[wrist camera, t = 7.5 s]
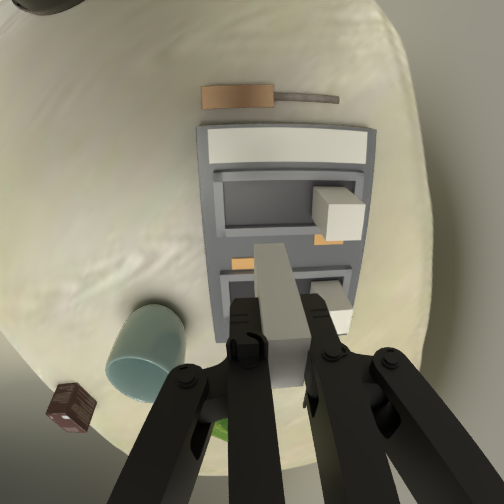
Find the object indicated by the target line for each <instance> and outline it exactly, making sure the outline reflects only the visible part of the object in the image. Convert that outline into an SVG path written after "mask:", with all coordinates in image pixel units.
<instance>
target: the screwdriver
mask: <svg viewBox="0 0 504 504" xmlns="http://www.w3.org/2000/svg"><path fill="white" fill-rule="evenodd" d="M274 100H285V101H308V102H324V103H336V104H339V97H338V96H328V95H315V94H298V93H274V85H226V86H207V87H202V109H216V108H242V107H274Z"/></svg>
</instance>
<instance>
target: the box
mask: <svg viewBox="0 0 504 504" xmlns="http://www.w3.org/2000/svg"><path fill="white" fill-rule="evenodd" d="M96 404H97V402H96V401H95V400H94V399H93V398H92V397H91V396H90V395H89V394H88V393H87V392H86V391H85V390H84V389H83V388H82V387H81V386H80V385H79V384H78V383H72V384H65V385H58V386H57V388H56V391H55V393H54V395H53V397H52V400H51V402H50V404H49V407H48V409H47V412H46V415H47V416H48V417H49V418H50V419H52V420H53V421H54V422H55V423H56V424H58V425H59V426H60V427H61V428H62V429H64V430H65V431H66V432H77V433H87V430H88V427H89V424H90V421H91V418H92V416H93V412H94V410H95V407H96Z"/></svg>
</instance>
